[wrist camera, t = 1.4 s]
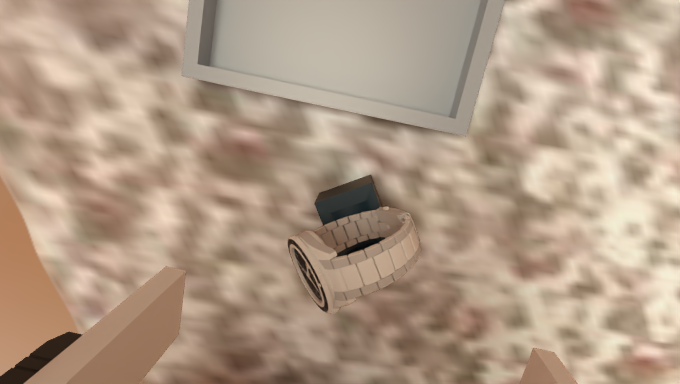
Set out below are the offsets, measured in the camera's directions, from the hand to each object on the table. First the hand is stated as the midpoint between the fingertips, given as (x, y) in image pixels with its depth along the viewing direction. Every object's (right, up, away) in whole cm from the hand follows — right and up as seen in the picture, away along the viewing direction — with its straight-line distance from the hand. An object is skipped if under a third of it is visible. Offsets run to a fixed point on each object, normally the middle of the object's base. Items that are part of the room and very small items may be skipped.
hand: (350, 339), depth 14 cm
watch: (+1, +4, +16) cm, 17 cm away
